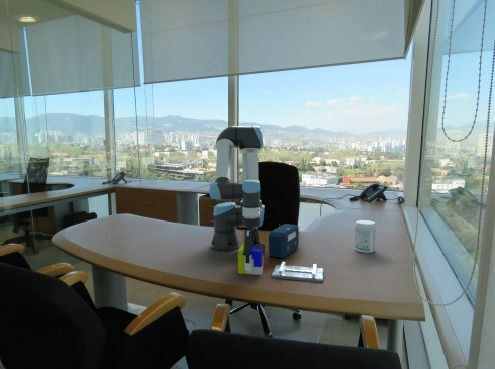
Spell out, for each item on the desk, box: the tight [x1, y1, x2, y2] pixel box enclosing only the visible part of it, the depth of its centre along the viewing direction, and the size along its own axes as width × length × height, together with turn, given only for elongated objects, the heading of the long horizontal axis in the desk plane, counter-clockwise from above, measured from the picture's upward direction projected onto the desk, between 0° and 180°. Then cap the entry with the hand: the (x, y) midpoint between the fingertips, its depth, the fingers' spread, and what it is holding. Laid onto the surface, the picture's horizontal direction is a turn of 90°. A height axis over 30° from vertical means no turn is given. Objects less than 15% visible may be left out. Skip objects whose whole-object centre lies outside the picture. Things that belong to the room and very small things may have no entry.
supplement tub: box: [354, 219, 377, 254], centre depth 159 cm, size 10×10×15 cm
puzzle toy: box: [237, 242, 266, 276], centre depth 137 cm, size 10×10×10 cm
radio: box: [268, 223, 300, 259], centre depth 158 cm, size 21×9×20 cm, turn 148°
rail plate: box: [271, 261, 324, 283], centre depth 132 cm, size 20×11×3 cm, turn 76°
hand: (251, 264), depth 137 cm, fingers open, 13 cm apart
